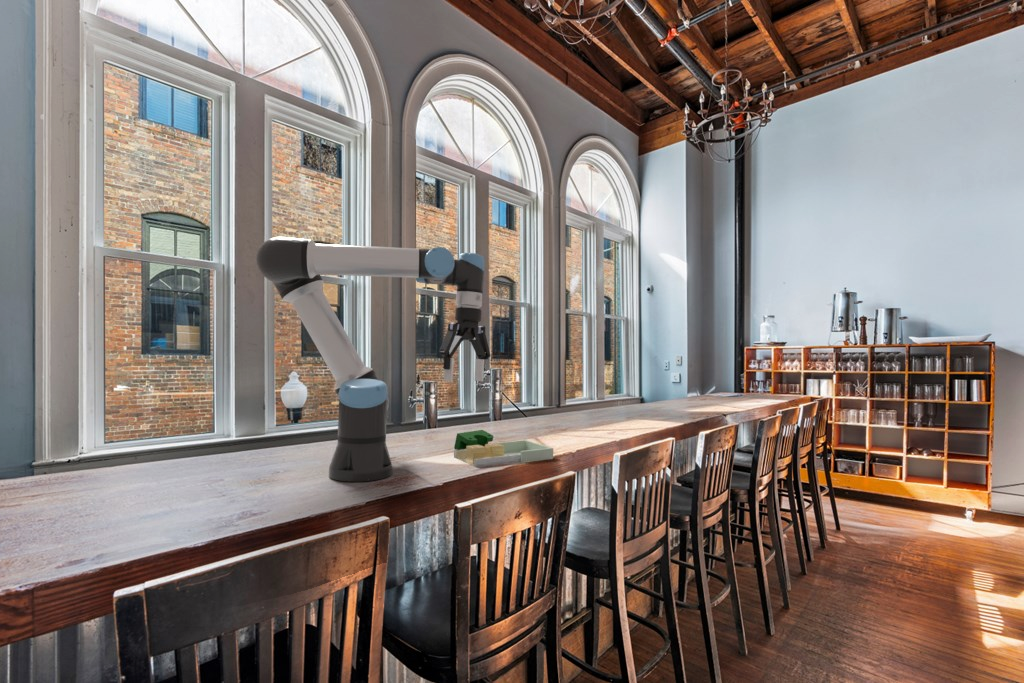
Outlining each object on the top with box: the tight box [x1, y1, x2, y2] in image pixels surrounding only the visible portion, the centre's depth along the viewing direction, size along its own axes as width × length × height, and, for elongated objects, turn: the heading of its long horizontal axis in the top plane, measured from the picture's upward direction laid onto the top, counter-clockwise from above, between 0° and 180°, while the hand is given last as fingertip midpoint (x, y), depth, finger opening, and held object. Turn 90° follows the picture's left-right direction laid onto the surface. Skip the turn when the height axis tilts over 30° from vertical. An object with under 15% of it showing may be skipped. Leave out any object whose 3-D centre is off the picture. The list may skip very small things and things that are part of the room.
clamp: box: [453, 429, 494, 450], centre depth 159 cm, size 12×6×9 cm, turn 132°
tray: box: [497, 439, 554, 463], centre depth 150 cm, size 11×14×4 cm
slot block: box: [453, 449, 521, 468], centre depth 143 cm, size 14×13×3 cm
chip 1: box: [466, 445, 486, 463], centre depth 142 cm, size 4×4×4 cm
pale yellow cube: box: [485, 442, 504, 457], centre depth 145 cm, size 4×4×4 cm
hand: (463, 381), depth 145 cm, fingers open, 13 cm apart
